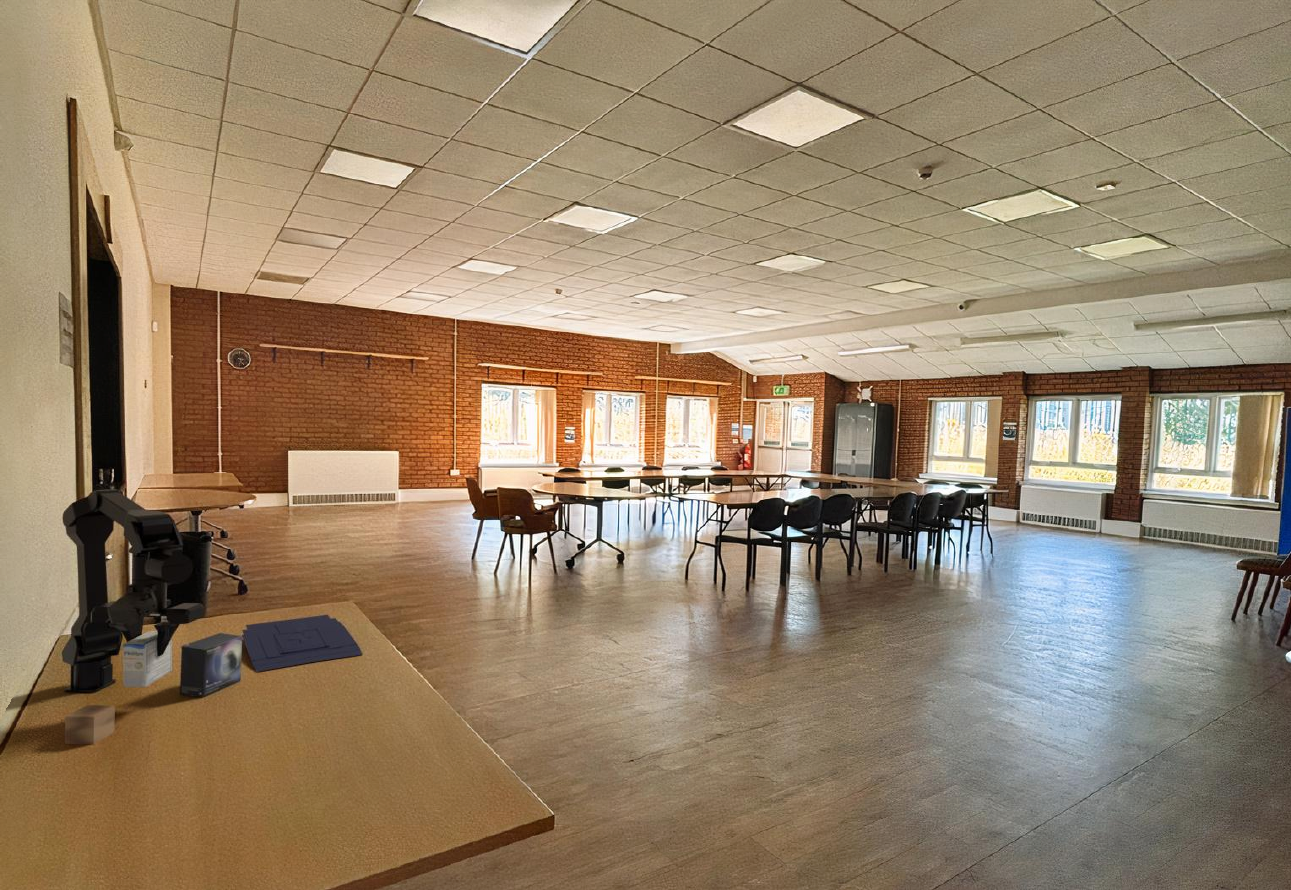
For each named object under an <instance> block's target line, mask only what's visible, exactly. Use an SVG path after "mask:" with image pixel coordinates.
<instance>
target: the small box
mask: <svg viewBox="0 0 1291 890" xmlns="http://www.w3.org/2000/svg"><path fill="white" fill-rule="evenodd" d="M242 646H243V637H242V635H237V634H229V633H223V632H219V633H215V634H213V635H210V636H207V637H204V638H201V639H198V640H195V641H192V642H189V643H186V644H183V645H181V657H180V678H179V679H180V680H179V682H180V683H179V692H178V693H179V695H186V696H190V697H191V696H193V697H199V698H204V697H207V696H209V695H211V694H214V693H216V692H219V691H221V690H223V689H225V688H227V687H230V686H233V685H234V684H237V683H240V682H241V678H242V651H243V650H242V649H243V647H242Z"/></svg>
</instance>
